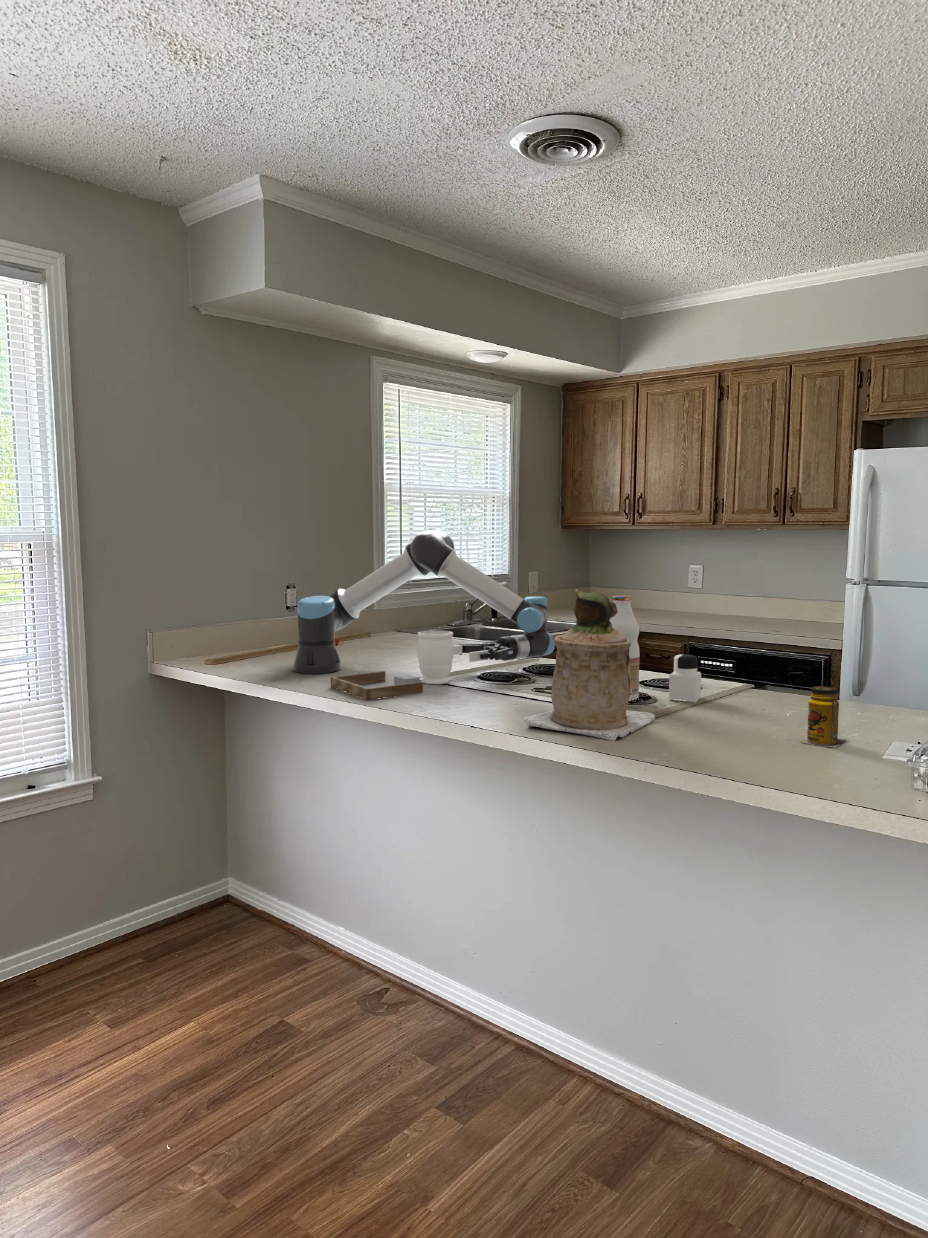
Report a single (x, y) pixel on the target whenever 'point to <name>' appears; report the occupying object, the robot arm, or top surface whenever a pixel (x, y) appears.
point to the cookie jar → (592, 676)
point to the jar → (435, 656)
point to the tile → (405, 679)
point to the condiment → (823, 718)
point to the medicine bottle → (685, 679)
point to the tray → (351, 681)
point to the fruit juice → (630, 629)
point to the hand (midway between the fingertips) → (456, 654)
